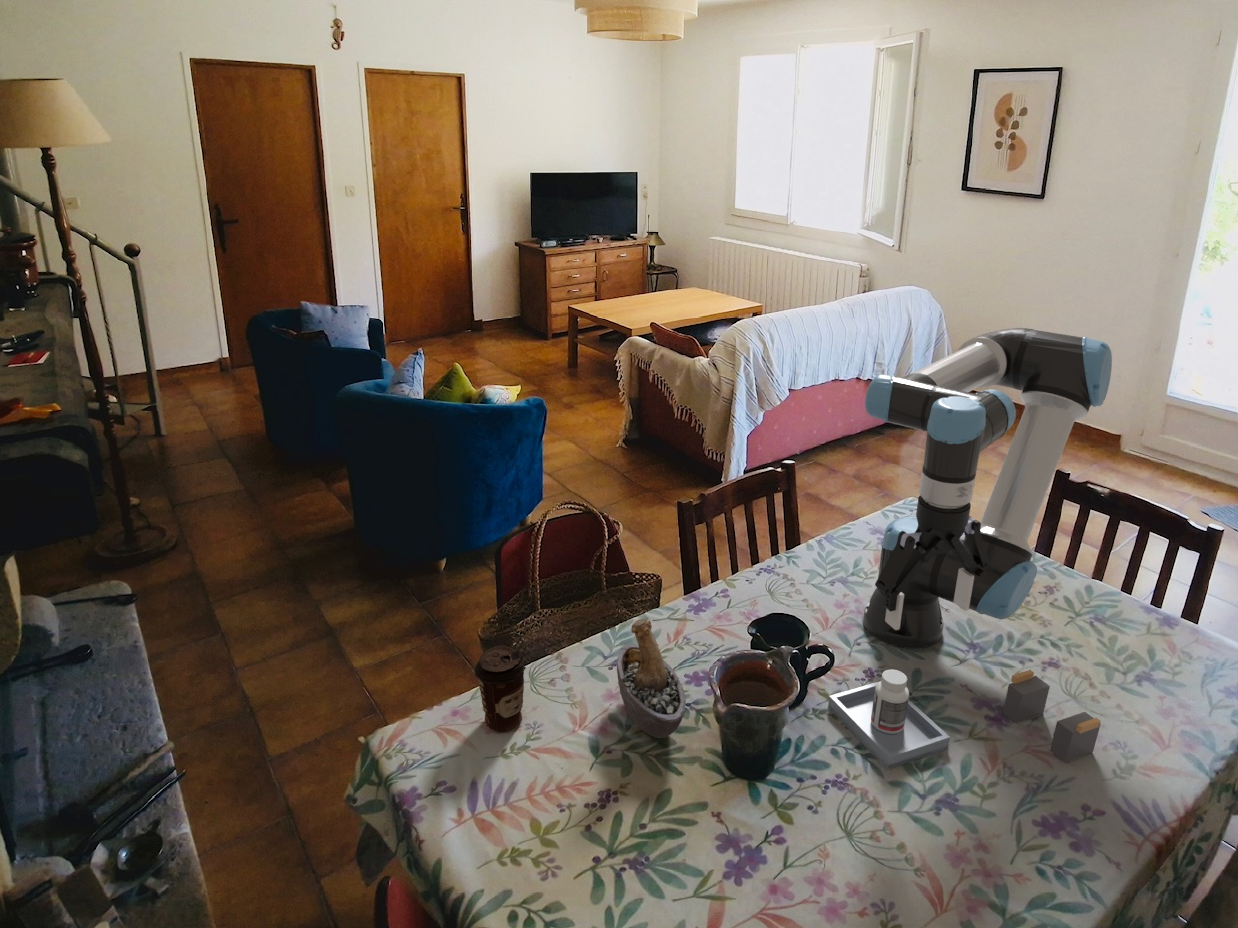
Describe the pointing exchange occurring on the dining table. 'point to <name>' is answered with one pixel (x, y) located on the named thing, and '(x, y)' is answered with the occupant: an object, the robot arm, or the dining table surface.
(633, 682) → the planter
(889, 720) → the pill bottle
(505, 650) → the drink can
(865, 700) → the tray
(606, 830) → the dining table surface
